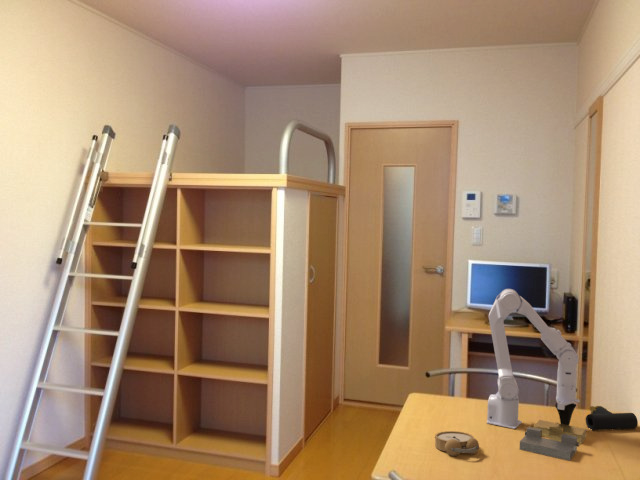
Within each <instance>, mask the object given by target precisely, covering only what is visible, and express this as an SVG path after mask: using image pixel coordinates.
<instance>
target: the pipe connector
mask: <svg viewBox="0 0 640 480" xmlns="http://www.w3.org/2000/svg"><path fill="white" fill-rule="evenodd" d="M589 411H590V414H589V413H588V414H587V415H586V416H585V423H586V427H587V428H588V429H589V428H590V429H589V430H591V429H592V430H591V431H608V430H609V431H610V430H612V429H613V430H633V429H636V428H637V427H638V423H639V422H638V418H637V416H636V414H635V413H634V412H620V413H619V412H618V413H617V412H615V413H612V412H611V411H609V410H608V409H607V408H605V407H603V406H601V405H596V406H593V405H590V406H589Z"/></svg>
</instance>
